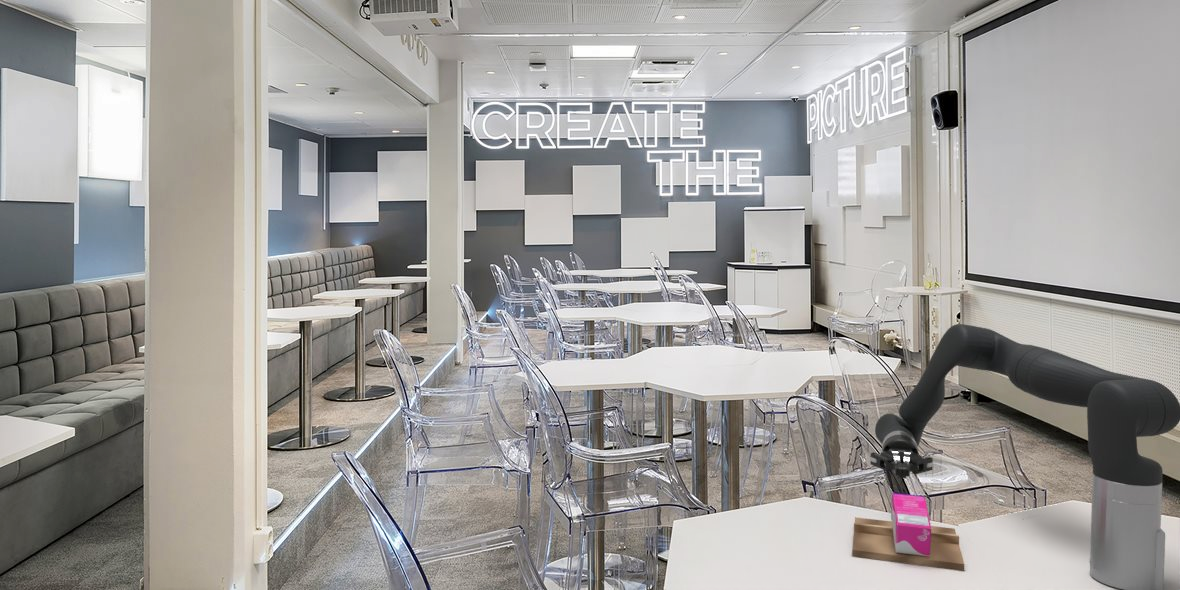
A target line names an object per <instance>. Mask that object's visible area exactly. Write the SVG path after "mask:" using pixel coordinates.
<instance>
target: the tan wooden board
mask: <svg viewBox="0 0 1180 590" xmlns="http://www.w3.org/2000/svg"><path fill="white" fill-rule="evenodd" d="M852 539H853V540H852V551H851V553H852V554H851V557H856V558H862V559H871V560H878V561H879V560H880V561H884V562H885V561H886V562H894V563H899V564H900V563H902V564H907V565H917V566H924V567H930V568H939V569H947V570H954V571H962V572H965V561H964V558H963V553H962V551H961V546H960V534H957V533H956V528H952V527H942V526H934V525H931V545H930V556H921V555H914V554H905V553H896V551H895V543H894V535H893V527H892V520H890V521H889V520H882V519H874V518H864V517H854V523H853V538H852Z"/></svg>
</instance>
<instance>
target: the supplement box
mask: <svg viewBox="0 0 1180 590" xmlns="http://www.w3.org/2000/svg"><path fill="white" fill-rule="evenodd" d="M890 509H891V511H890V518H891V520H890V521H892V527H893V535H894V543H895V551H896V553H905V554H914V555H921V556H930V545H931V526H932V524H931V521H930V516H929V510H928V506H927V500H926V496H924V495H917V494H916V495H915V494H910V493H909V494H906V493H898V492H892V495H891V508H890Z"/></svg>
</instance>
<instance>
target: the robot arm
mask: <svg viewBox="0 0 1180 590" xmlns="http://www.w3.org/2000/svg"><path fill="white" fill-rule="evenodd" d="M957 366H958V367H960V368H961V367H962V368H968V369H973V370H978V371H979V370H980V371H988V372H991V373H992V372H993V373H996V374H999V375H1002V376H1003V375H1004V376H1006V377H1008V380H1009V381H1010V382H1011V384H1013V386H1015V387H1016V388H1017V389H1019V390H1021V391H1022V392H1025V393H1027V394H1029V395H1031V396H1034V397H1036V398H1039V399H1041V400H1044V401H1047V402H1052V403H1056V404H1061V405H1067V406H1075V407H1081V408H1086V417H1087V419H1086V422H1087V423H1086V424H1087V447H1088V448H1087V449H1088V454H1089V457H1090V460H1091V463H1092V483H1091V484H1092V487H1091V492H1092V493H1091V516H1090V517H1091V520H1090V522H1091V523H1090V545H1089V546H1090V548H1089V549H1090V550H1089V551H1090V553H1089V575H1090V576H1091V577H1092V578H1093V579H1094V580H1096V581H1098V582H1099V583H1102V584H1104V585H1107V586H1109V587H1113V588H1116V589H1120V590H1164V585H1165V584H1164V582H1165V581H1164V580H1165V579H1164V578H1165V561H1166V560H1165V557H1166V556H1165V555H1166V554H1165V553H1166V533H1165V531H1164V530H1163V529H1162V528H1161V526H1162V524H1161V523H1162V504H1163V503H1162V499H1163V496H1162V495H1163V475H1164V474H1163V472H1164V471H1163V467H1162V465H1161V464H1160V463H1159V462H1157V461H1156V460H1154V459H1151V458H1150V457H1146V456H1143V455H1140V453H1139V450H1138V439H1137V438H1139V437H1143V438H1144V437H1156V436H1160V435H1163V434H1167V433H1169V432H1170V431H1172V430H1174V429H1175V428H1176V426H1178V424H1179V423H1180V401H1179V400H1178V398H1177V397H1176V395H1175V394H1174V393H1173V391H1172V390H1170V388H1168V387H1166V386H1165V385H1164V384H1163V383H1160V382H1159V381H1156V380H1152V379H1148V378H1142V377H1137V376H1133V375H1128V374H1124V373H1123V374H1122V373H1119V372H1114V371H1110V370H1108V369H1104V368H1101V367H1098V366H1097V365H1093V364H1090V363H1087V362H1085V361H1082V360H1079V359H1077V358H1073V357H1071V356H1068V355H1065V354H1063V353H1060V352H1057V351H1054V350H1051V349H1048V348H1044V347H1042V346H1036V345H1032V344H1027V343H1026V344H1023V343H1019V342H1017V341H1014V340H1013V339H1010V338H1008V337H1007V336H1004V335H1003V334H1001V333H999V332H997V331H995V330H993V329H990V328H986V327H980V326H976V325H971V324H965V323H964V324H962V323H957V324H953V325H952V326H950V327H949V328H947V330H946V331H945V333H943V335H942V337H941V338H940V340H939V342H938V343H937V346H936V348H935V350H934V352H933V354H932V355H931V357H930V359H929V361H928V364H927V365H926V367H925V370H924V372H923V374H922V375H921V377H920V379H919V381H918V382H917V383H916V385H915V387H914V388H913V389H912V391H910V393H909V394H908V395H907V396H906V398H905V399H904V400H903V401H902V403H901V404H900V406H899V408H898V414H899V416H898V415H897V414H894V413H885V414H882V415H881V416H880V417H879V418H878V419H877V422H876V424H875V428H874V429H875V430H874V433H875V434H874V435H875V437H876V439H877V440H878V441H879V442H880V444H881V451H880V453H877V452H870V465H872V466H873V467H876V468H879V469H881V470H882V471H885V472H887V473H889V472H892V471H893V472H894V475H895V476H898V478H900V479H907V477H910V473H911V474H913V475H918V474H922V473H927V472H931V471H933V469H934V468H933V467H934V466H933V465H934V463H933V462H934V459H933V457H931V456H930V457H929V456H928V457H923V456H921V455H920V453H919V445H920V443H921V440H922V436H923V433H924V431H925V428H926V426H927V425H928V423H929V422H930V421H931V420H932V418H933V417H934V416H935V415H936V413H937V412H938V411H939V410H940V408H941V407H942V405H943V404H944V401H945V396H946V390H945V385H946V383H945V380H946V377H947V375H948V374H949V373H950V372H951V371H952V370H953V369H955V367H957Z"/></svg>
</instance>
